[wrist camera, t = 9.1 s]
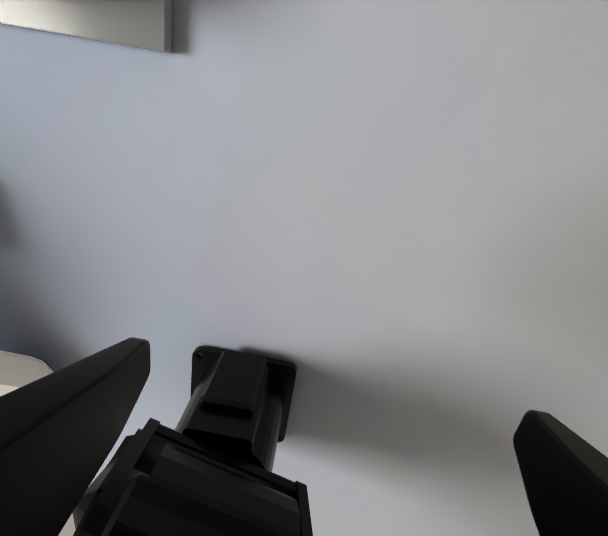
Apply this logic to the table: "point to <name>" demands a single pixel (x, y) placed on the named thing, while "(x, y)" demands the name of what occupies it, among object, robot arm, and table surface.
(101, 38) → the plate
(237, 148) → the table surface
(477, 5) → the table surface
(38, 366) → the white elongated block
